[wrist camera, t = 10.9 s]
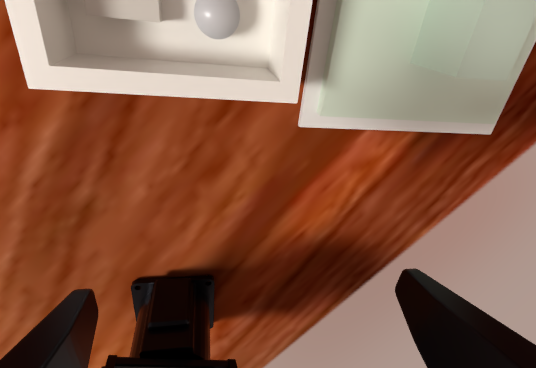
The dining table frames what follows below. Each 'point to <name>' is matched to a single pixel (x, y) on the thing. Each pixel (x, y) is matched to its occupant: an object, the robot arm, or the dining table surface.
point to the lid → (425, 58)
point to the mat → (313, 119)
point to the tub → (164, 46)
